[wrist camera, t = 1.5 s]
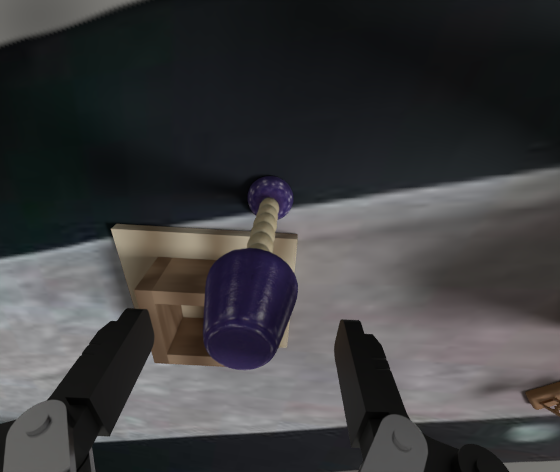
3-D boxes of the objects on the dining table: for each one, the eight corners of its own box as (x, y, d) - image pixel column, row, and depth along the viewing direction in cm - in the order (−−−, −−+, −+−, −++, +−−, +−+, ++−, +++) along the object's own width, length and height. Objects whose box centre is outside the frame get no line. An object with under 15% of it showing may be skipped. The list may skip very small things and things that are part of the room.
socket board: (297, 234, 27) (299, 271, 22) (286, 341, 35) (286, 386, 30) (116, 223, 27) (75, 258, 22) (147, 333, 35) (123, 378, 30)
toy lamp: (236, 206, 26) (170, 370, 11) (252, 161, 23) (198, 292, 9) (282, 224, 27) (277, 397, 12) (302, 182, 24) (326, 332, 10)
